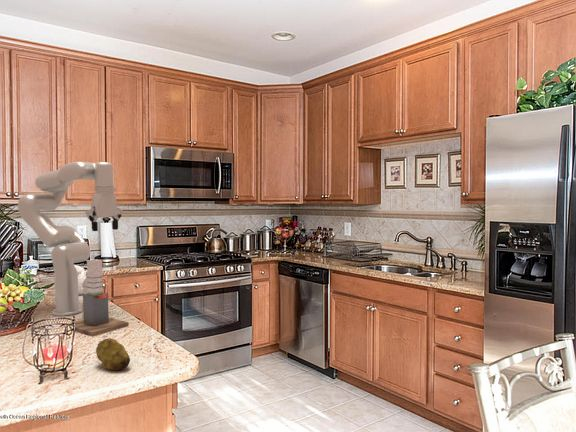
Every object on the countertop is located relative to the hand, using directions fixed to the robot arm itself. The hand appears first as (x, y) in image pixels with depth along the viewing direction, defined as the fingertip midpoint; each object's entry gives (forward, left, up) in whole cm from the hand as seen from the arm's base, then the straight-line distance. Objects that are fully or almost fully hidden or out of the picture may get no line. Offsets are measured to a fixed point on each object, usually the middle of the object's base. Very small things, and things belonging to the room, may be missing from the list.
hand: (105, 230), depth 194 cm
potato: (+53, -34, -38) cm, 74 cm away
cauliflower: (-57, +19, -39) cm, 71 cm away
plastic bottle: (-6, -4, -38) cm, 39 cm away
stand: (+10, -12, -38) cm, 41 cm away
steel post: (+10, -12, -30) cm, 34 cm away
